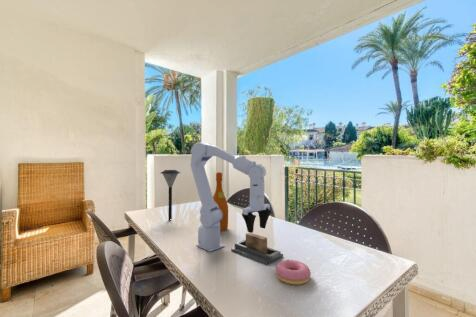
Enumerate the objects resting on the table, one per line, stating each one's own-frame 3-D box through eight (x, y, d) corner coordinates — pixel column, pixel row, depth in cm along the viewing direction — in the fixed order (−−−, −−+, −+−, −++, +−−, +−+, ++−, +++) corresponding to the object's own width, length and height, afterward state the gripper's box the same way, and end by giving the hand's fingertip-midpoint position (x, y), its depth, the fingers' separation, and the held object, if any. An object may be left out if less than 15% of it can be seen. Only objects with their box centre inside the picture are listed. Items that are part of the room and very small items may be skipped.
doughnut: (285, 266, 81) (285, 254, 81) (316, 276, 74) (316, 263, 74) (268, 278, 73) (268, 265, 73) (301, 291, 66) (302, 277, 66)
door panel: (245, 248, 94) (245, 233, 94) (249, 247, 95) (249, 232, 95) (263, 255, 87) (263, 239, 87) (267, 253, 89) (267, 237, 89)
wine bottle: (206, 231, 119) (206, 172, 118) (213, 225, 128) (213, 171, 128) (225, 233, 116) (225, 173, 116) (230, 227, 126) (230, 171, 126)
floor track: (231, 250, 94) (231, 244, 94) (247, 244, 101) (247, 238, 101) (267, 265, 81) (267, 258, 81) (283, 256, 89) (283, 250, 89)
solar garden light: (158, 218, 142) (158, 169, 142) (178, 216, 148) (178, 169, 147) (160, 223, 131) (161, 170, 131) (182, 221, 136) (182, 170, 136)
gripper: (252, 198, 83) (252, 236, 83) (276, 194, 94) (275, 228, 94) (238, 196, 88) (238, 232, 88) (262, 192, 99) (262, 224, 99)
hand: (256, 229), depth 91 cm, fingers open, 7 cm apart
